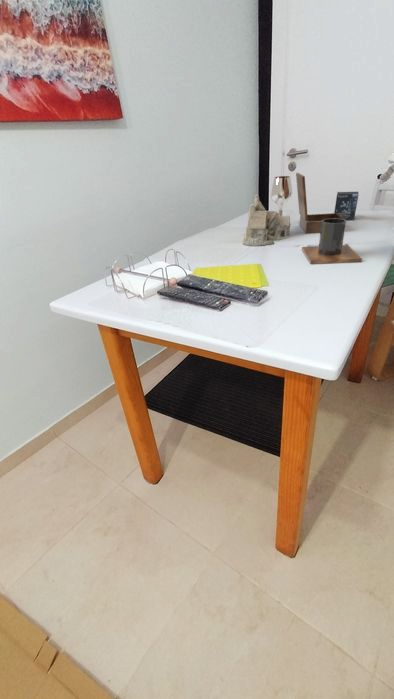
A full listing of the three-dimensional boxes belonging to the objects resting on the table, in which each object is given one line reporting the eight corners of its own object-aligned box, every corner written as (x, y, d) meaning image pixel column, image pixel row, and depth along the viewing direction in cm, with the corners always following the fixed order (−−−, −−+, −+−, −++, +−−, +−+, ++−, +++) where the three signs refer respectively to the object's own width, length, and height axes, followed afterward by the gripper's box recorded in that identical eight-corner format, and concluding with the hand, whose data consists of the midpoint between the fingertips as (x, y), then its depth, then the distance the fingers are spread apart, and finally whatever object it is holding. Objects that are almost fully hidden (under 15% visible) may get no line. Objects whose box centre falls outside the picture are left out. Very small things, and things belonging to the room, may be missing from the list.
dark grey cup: (337, 248, 103) (342, 217, 98) (343, 254, 98) (349, 222, 93) (316, 249, 104) (319, 219, 99) (320, 255, 98) (324, 224, 94)
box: (332, 222, 136) (336, 193, 130) (333, 219, 140) (337, 191, 134) (353, 222, 133) (359, 193, 127) (353, 219, 137) (358, 191, 132)
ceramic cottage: (237, 244, 117) (240, 197, 110) (252, 234, 130) (255, 192, 122) (281, 250, 112) (288, 201, 104) (292, 239, 124) (299, 194, 116)
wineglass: (279, 230, 131) (282, 178, 122) (264, 227, 137) (266, 177, 128) (294, 226, 135) (298, 176, 125) (279, 223, 141) (282, 175, 131)
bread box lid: (298, 172, 122) (295, 173, 122) (304, 176, 111) (302, 176, 111) (301, 213, 129) (299, 214, 129) (307, 220, 119) (305, 221, 119)
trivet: (347, 247, 106) (347, 244, 106) (361, 262, 95) (362, 258, 94) (301, 250, 108) (301, 246, 107) (310, 264, 96) (310, 260, 96)
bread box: (335, 226, 131) (336, 212, 128) (344, 234, 120) (346, 220, 117) (299, 227, 132) (300, 215, 129) (305, 236, 121) (306, 222, 119)
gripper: (413, 126, 91) (368, 169, 97) (456, 125, 74) (398, 178, 80) (425, 144, 93) (380, 185, 99) (470, 147, 76) (413, 197, 82)
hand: (388, 182), depth 89 cm, fingers open, 8 cm apart
